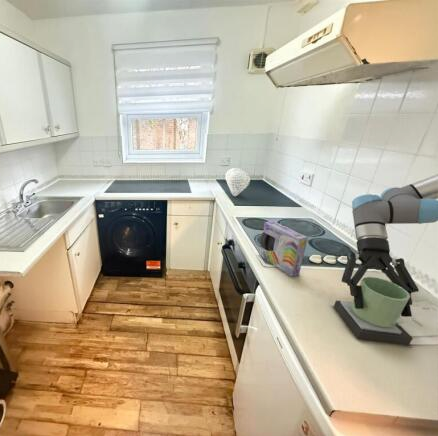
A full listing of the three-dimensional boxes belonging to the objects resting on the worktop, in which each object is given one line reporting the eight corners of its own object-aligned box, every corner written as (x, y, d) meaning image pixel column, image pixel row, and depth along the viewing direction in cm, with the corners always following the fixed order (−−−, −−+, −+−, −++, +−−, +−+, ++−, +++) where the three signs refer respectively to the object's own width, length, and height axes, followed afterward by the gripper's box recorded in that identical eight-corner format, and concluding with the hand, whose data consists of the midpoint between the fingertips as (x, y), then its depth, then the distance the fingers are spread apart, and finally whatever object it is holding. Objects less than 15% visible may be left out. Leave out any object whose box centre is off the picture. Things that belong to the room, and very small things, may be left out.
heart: (221, 191, 212) (224, 166, 203) (239, 191, 210) (243, 166, 202) (228, 201, 186) (232, 173, 177) (249, 201, 185) (254, 173, 176)
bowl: (389, 311, 74) (403, 284, 70) (399, 334, 66) (415, 305, 62) (348, 299, 79) (359, 273, 75) (352, 319, 71) (365, 291, 67)
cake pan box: (256, 254, 113) (263, 220, 106) (265, 252, 114) (272, 219, 108) (290, 277, 96) (300, 239, 89) (299, 275, 98) (310, 237, 91)
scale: (376, 312, 79) (380, 303, 78) (408, 345, 67) (414, 336, 66) (333, 307, 81) (336, 298, 80) (357, 339, 69) (361, 329, 68)
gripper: (406, 248, 77) (421, 320, 69) (324, 239, 83) (329, 305, 75) (426, 241, 70) (445, 320, 62) (336, 232, 76) (343, 303, 68)
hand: (382, 312), depth 69 cm, fingers open, 11 cm apart
